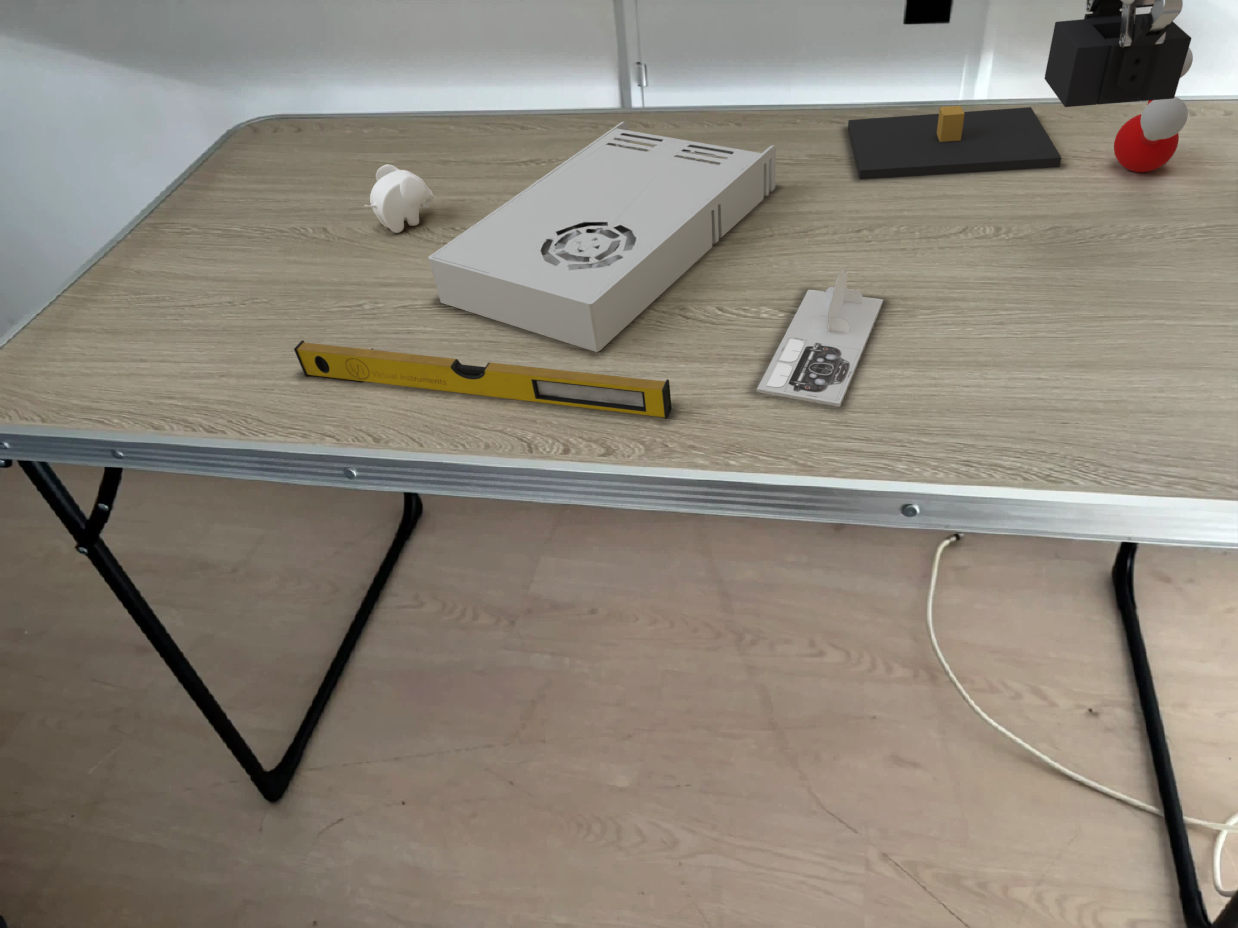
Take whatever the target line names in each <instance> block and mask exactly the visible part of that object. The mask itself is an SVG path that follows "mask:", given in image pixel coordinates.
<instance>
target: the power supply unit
mask: <svg viewBox="0 0 1238 928" xmlns="http://www.w3.org/2000/svg"><path fill="white" fill-rule="evenodd" d="M633 142H634V143H633ZM639 143H641V144H639ZM643 144H647V145H643ZM649 145H651V146H649ZM776 154H777V148H776V146H775V145H773V144H772V145H769V147H767V148H766V149H765V150H764V151H762V152H757V151H751V150H746V149H741V148H733V147H728V146H721V145H717V144H716V145H715V144H711V143H704V142H698V141H692V140H686V139H681V138H675V137H669V136H664V135H657V134H651V133H645V132H640V131H635V130H629V122H627V121H621V122H619V123H618V124H616V125H615V126H614V127H612V128H611V129H610V130H608V131H607V132H605V133H604V134H602V135H600V136H599V137H598V138H596V139H595V140H593V141H592V142H591V143H589V144H587V145H586V146H585V147H583V148H582V149H581V150H579V151H578V152H576V153H575V154H573V155H572V156H570V157H569V158H568V159H566V160H565V161H563V162H562V163H560V164H558V165H557V166H556V167H554V168H553V169H552V170H550V171H549V172H547V173H546V174H544V176H542V177H540V178H538V179H537V180H536V181H535V182H533V183H532V184H530V185H529V186H527V187H526V188H525V189H523V190H522V191H520V192H518V194H516V195H515V196H513V197H511V198H510V199H509V200H508V201H506V202H504V203H503V204H502V205H500V206H499V207H497V208H496V209H495V210H493V211H492V212H490V213H489V214H487V215H486V216H484V217H483V218H481V219H480V220H479V221H477V222H476V223H474V224H473V225H471V226H470V227H469V228H468V229H466V230H464V231H463V232H462V233H460V234H458V235H457V236H456V237H454V238H453V239H452V240H450V241H449V242H447V243H446V244H445V245H443V246H441V247H440V248H438V249H437V250H436V251H435V252H432V254H430V255H429V256H427V258H428V262H429V265H430V266H429V267H430V268H431V273H432V276H433V279H434V284H435V288H436V291H437V295H438V298H439V302H440V303H441V304H442V305H443V304H445V305H447V306H451V307H453V308H456V309H460V310H462V311H466V312H469V313H472V314H475V315H479V316H482V317H485V318H488V319H491V320H494V321H497V322H500V323H503V324H507V325H510V326H513V327H516V328H519V329H523V330H526V331H529V332H532V333H534V334H538V335H542V336H544V337H548V338H551V339H554V340H557V341H559V342H563V343H567V344H569V345H572V346H576V347H579V348H581V349H585V350H588V351H592V352H594V353H599V352H600V351H601V350H602V349H603V348H605V346H607V345H608V344H609V343H610V342H611V341H612V340H613V339H614V338H616V337H617V336H618V335H619V334H620V333H621V332H622V331H623V330H624V329H625V328H626V327H627V326H629V325H630V324H631V323H632V322H633V321H634V320H635V319H636V318H638V316H640V315H641V313H643V312H644V311H645V310H646V309H647V308H648V307H649V306H650V305H651V304H653V303H654V302H655V301H656V299H658V298H659V297H660V296H662V294H663V293H664V292H665V291H667V290H668V289H669V288H670V287H671V286H672V285H673V284H674V283H675V282H677V280H679V279H680V278H681V277H682V276H683V275H684V274H685V273H686V272H688V270H689V269H690V268H691V267H692V266H694V265H695V264H696V263H697V262H698V261H699V260H700V259H701V258H702V257H703V256H705V254H706V253H708V252H709V251H710V250H711V249H712V248H713V245H715V244H717V243H718V242H719V241H720V239H722V238H723V237H724V236H725V235H726V234H727V233H729V232H730V231H731V230H732V229H733V228H734V227H735V226H736V225H737V224H738V223H739V222H740V221H741V220H743V219H744V218H745V217H746V216H747V215H749V213H751V212H752V210H754V209H755V208H756V207H757V206H758V205H759V204H760V203H761V202H763V200H764V198H765V197H768V196H769V194H770V193H771V192H773V191H774V190H775V189H776V168H777V167H776V159H777V158H776V157H777V155H776ZM709 161H710V162H709Z"/></svg>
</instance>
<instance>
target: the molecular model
mask: <svg viewBox="0 0 1238 928" xmlns="http://www.w3.org/2000/svg"><path fill="white" fill-rule="evenodd" d="M1193 61H1194V55H1193V51H1192V49H1191V48H1190V47H1189V49H1188V52H1187V56H1186V59H1185V63H1184V66H1183V69H1182V73H1181V76H1180V79H1181V78H1183V77H1184V76H1185V75H1186V74H1187V73H1188V72H1189V71H1190V69H1191V67H1192V65H1193ZM1188 115H1189V111H1188V107H1187V104H1186V102H1184V101H1183V100H1182V99H1181V98H1179V97H1177V96H1175V97H1174V98H1173V99H1162V100H1150V101H1147V104H1146V106H1145V107H1144V109H1143V110H1142V113H1141V114H1137V115H1135V116H1133V117H1132V118H1130V119H1129V120H1127V121H1126V122H1125V123H1123V124H1122V126H1121V127H1120V128H1119V130H1117V131H1118V132H1117V133H1116V135H1115V138H1114V142H1113V152H1114V156H1115V159H1116V160H1117V162H1118V163H1119V164H1120V165H1121V166H1122V167H1123V168H1125V169H1126V170H1128V171H1130V172H1135V173H1149V172H1152V171H1156V170H1158V169H1159V168H1161V167H1162V166H1164V165H1165V164H1167V163H1168V162H1169V160H1171V158H1172V157H1173V156H1174V154H1175V152H1176V151H1177V149H1178V146H1179V141H1180V136H1179V135H1180V134H1179V133H1180V131H1181V130H1182V129H1184V127H1185V125H1186V124H1187V121H1188V117H1189V116H1188Z"/></svg>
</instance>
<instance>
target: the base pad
mask: <svg viewBox="0 0 1238 928" xmlns="http://www.w3.org/2000/svg"><path fill="white" fill-rule="evenodd" d="M847 131H848V135H849V140H850V145H851V148H852V153H853V157H854V161H855V166H856V170H857V175H858V178H859V179H858V180H860V181H861V180H872V179H873V180H877V179H890V178H892V179H893V178H908V177H909V178H910V177H922V176H938V175H940V176H941V175H955V174H971V173H987V172H1003V171H1019V170H1036V169H1053V168H1060V166H1061V162H1062V156H1061V154H1060V153H1059V151H1058V149H1057V148H1056V146H1055V144H1054V143H1053V141H1052V140H1051V138H1050V136H1049V134H1048V133H1047V131H1046V130H1045V128H1044V126H1043V124H1042V123H1041V121H1040V120H1039V118H1038V117H1037V114H1036V113H1035V111H1034V109H1033V108H1032V107H1031V106H1026V107H1015V108H1014V107H1013V108H1012V107H1011V108H999V109H985V110H971V111H964V110H963V108H962V105H949V106H940V107H939V111H938V113H930V114H929V113H928V114H927V113H926V114H916V115H915V114H914V115H899V116H887V117H874V118H873V117H872V118H859V119H858V118H857V119H856V118H855V119H848V120H847Z"/></svg>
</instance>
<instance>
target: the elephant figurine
mask: <svg viewBox="0 0 1238 928" xmlns="http://www.w3.org/2000/svg"><path fill="white" fill-rule="evenodd" d="M375 180H376V182H375V184H373V187H372V188H371V191H370V195H369V200H370V205H367V204H364V208H366V207H367V208H369V207H370V208H371V209H372V211H373V213H374V215H375V216H376V217H377V220H378V222H380V224H382V225H383V226H384V227H385V228H388V229H389V230H390V231H391V232H392V233H395V234H399V233H401V232H402V231H403V230H404V228H405V222H407V224H408V225H409V226H411V227H414V226H418V225H419V224H420V207H421V208H423V209H427V208H429V207H430V206H431V204H432V202H433V198H437V195H434V192H433V190H431V188H429V186H427V184H426V183H425V181H424V180H423V179H422V178H421V177H420V176H418V175H416V174H414V173H413V172H411V171H409V170H407V169H399V168H398V167H397V166H395V165H392V164H388V163H387V164H383V165H382V166H380V167H379V168H378V169H377V170H376V173H375Z"/></svg>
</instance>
